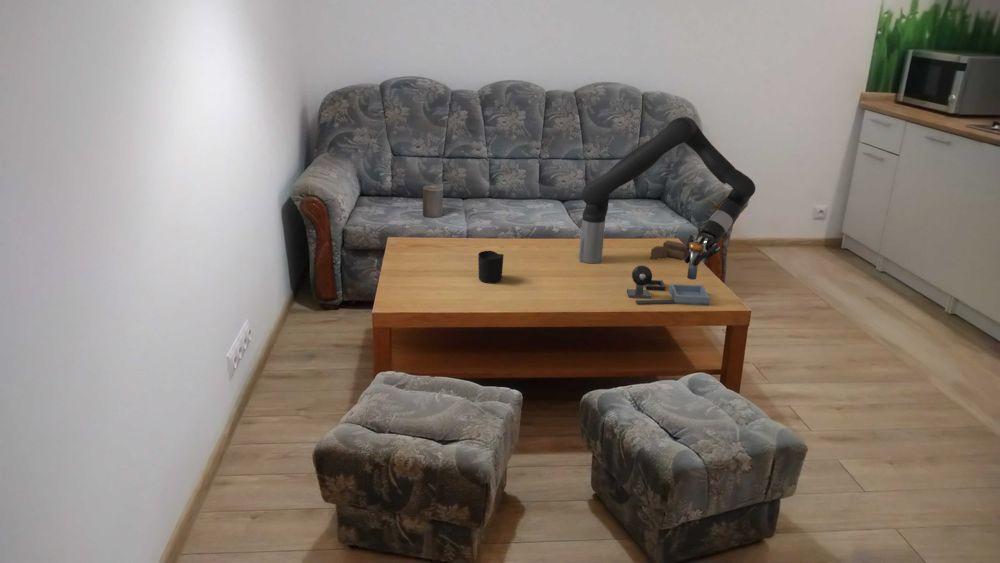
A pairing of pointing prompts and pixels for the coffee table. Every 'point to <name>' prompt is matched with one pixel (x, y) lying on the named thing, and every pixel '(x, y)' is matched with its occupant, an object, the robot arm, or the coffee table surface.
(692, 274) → the pin
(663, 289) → the frame
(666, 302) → the strip
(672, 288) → the tray
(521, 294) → the coffee table surface
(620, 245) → the coffee table surface
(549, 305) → the coffee table surface
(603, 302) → the coffee table surface
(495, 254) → the pen holder
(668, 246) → the wooden block set
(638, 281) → the pulley stand
